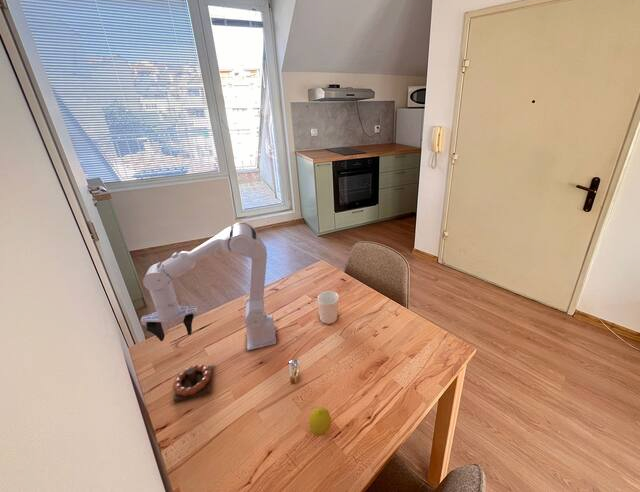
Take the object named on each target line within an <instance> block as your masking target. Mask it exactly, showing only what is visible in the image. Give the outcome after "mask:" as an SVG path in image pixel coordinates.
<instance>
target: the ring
mask: <svg viewBox="0 0 640 492" xmlns="http://www.w3.org/2000/svg"><path fill="white" fill-rule="evenodd" d="M300 365H301V363H300V358H299V357H294V358H292V359H291V360H290V361H289V362H288V367H289V379H290V380H289V381H290V384H291V385H296V383H297V381H298V380H299V379H298V378H299V375H300V374H299V373H300ZM293 370H294V373H293Z"/></svg>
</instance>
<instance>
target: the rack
mask: <svg viewBox="0 0 640 492" xmlns="http://www.w3.org/2000/svg"><path fill="white" fill-rule="evenodd" d="M206 366H207V365H206ZM207 367H208V368H209V370H210V371H211V374H210V380H209V381H208V383H207V384H206V385H205V387H204V388H203V389H201V390H200V391H198V392H197V393H195V394H191V395H188V396H183V395H178V394H176V392H175V391H174V392H175V393H174V396H173V402H174V403H179V402H183V401H186V400H190V399H194V398H196V397H201V396H204V395H209V394H210V392H211V384H212V377H213V365H208V366H207ZM187 375H188V376H186V377H185V378H184V380H183V381H182V386H183V387H186V388H188V387H192V386H195V385H196V384H198V383H199V382H200V381H201V379H202V378H203V374H202V373H201V372H195V369H194V368H191V369H189V370H188V371H187Z"/></svg>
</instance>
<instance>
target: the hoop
mask: <svg viewBox="0 0 640 492" xmlns="http://www.w3.org/2000/svg"><path fill="white" fill-rule="evenodd" d="M191 368H194V369H195V372H201V373H202V374H203V378H202V379H201V381H200V382H199V383H198V384H196V385H195V386H192V387H188V388H186V387H183V386H182V381H183V380H184V378H185V377H186V376H188V375H187V371H188V370H189V369H191ZM210 374H211V371H210V370H209V368H208V367H207V365H204V364H195V365H190V366H188V367H187V368H185V369H183V370H182V371H180V373H179V374H178V375H177V376H176V377H175V379H174V382H173V385H172V388H173V391H174V392H176V394H178V395H183V396H188V395H191V394H195V393H197V392H198V391H200V390H201V389H203V388H204V387H205V385H206V384H207V383H208V381H209V380H210Z"/></svg>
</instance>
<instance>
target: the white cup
mask: <svg viewBox="0 0 640 492" xmlns="http://www.w3.org/2000/svg"><path fill="white" fill-rule="evenodd" d="M317 307H318V313H319V320H320V322H321V323H324V324H327V325H329V324H333V323H334V322H336V321H337V320H338V313H339V294H338V293H337V292H336V291H333V290H324V291H322V292H321V293H319V294H318V295H317Z"/></svg>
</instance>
